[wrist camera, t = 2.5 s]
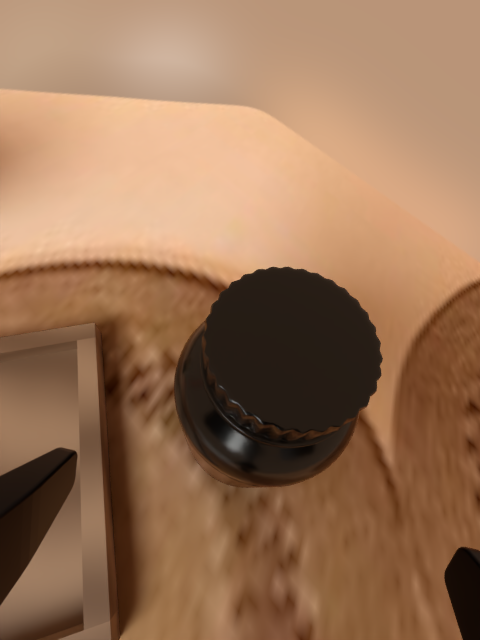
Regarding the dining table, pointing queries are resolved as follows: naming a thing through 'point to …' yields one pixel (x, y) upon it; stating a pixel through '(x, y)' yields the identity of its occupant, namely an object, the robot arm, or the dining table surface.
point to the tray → (85, 497)
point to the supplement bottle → (276, 378)
